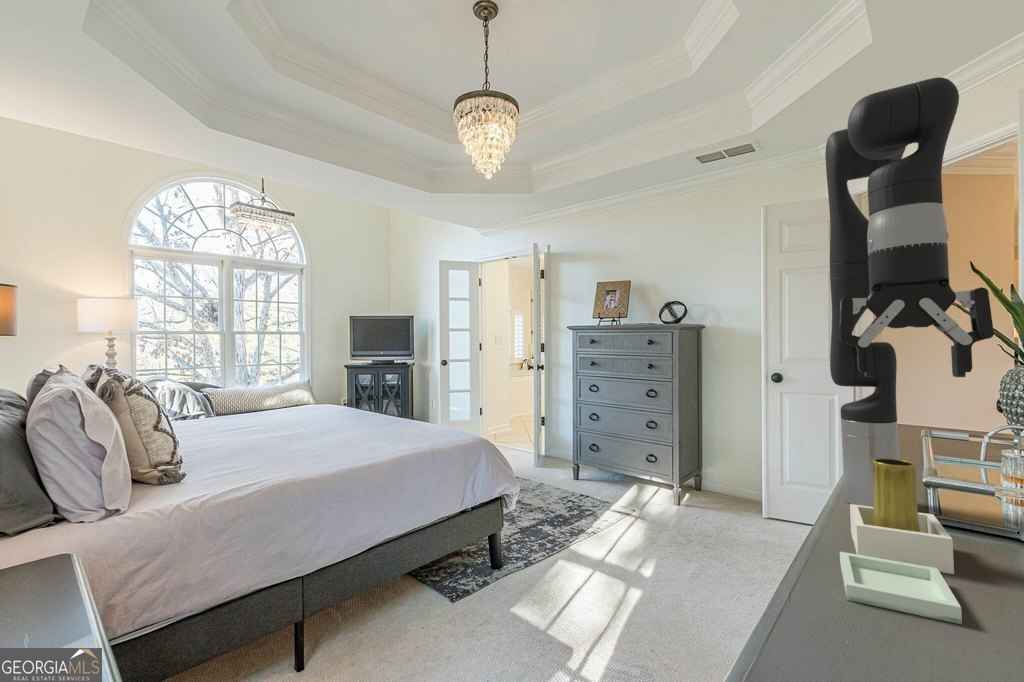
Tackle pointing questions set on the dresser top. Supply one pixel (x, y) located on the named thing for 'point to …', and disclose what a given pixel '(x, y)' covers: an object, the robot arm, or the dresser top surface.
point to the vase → (895, 494)
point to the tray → (899, 587)
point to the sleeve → (902, 540)
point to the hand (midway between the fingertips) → (911, 376)
